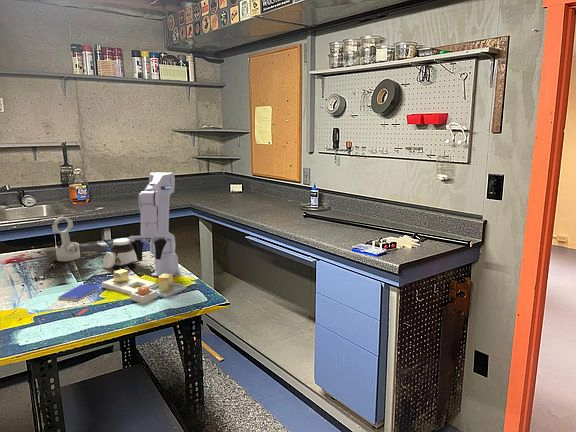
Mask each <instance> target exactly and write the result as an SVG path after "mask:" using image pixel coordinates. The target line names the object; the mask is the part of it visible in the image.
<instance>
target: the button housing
mask: <svg viewBox="0 0 576 432" xmlns="http://www.w3.org/2000/svg"><path fill="white" fill-rule="evenodd" d="M149 292H150V293H149V294H146V295H144V296H142V295H138V290H137V291H135V292H133V293H130V294H131V295H130V301H134V302H136V303H139V304H143V305H144V304H147V303H148V302H151V301H152V300H155V299H157V298H158V296H157V291H155V290H151V289H149Z"/></svg>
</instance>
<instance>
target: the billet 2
mask: <svg viewBox="0 0 576 432" xmlns="http://www.w3.org/2000/svg"><path fill="white" fill-rule="evenodd" d="M157 277H158V279H157V280H158V284H159V292H168V293H169V292H170V291H171V290H173V289H174V288H173V282H174V274H162V275H160V276H157Z"/></svg>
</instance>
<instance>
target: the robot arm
mask: <svg viewBox="0 0 576 432" xmlns="http://www.w3.org/2000/svg"><path fill="white" fill-rule="evenodd" d="M175 181H176V178H175V173H174V172H153V171H151V172H150V173H149V175H148V183H147V185H146V187H145V188H144V190H143V191H141V192H139V193H138V196H137V197H138V198H137V200H138V208H139V212H140V235H130V236H129V238H128V239H129V242H130V244H131V245H132V247H133V249H134V253H135V255H136V257H135V258H136V260H137V261H138V262H143V248H144V244H145V241H150V242H149V251H150V254H152V255H153V257H154V263H155V265H154V266H155V272H153V273H151V276H156V277H159V276H160V275H162V274H173V275H175V274H178V273H181V270H179V257H178V255H177V253H176V238H175V235H174V234H172V233H171V232H170V231H169V229H170V227H169V226H170V225H169V224H170V222H169V220H170V198H171V197H170V196H171V195H172V194H174V193H175V185H176V182H175Z"/></svg>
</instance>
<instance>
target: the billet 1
mask: <svg viewBox="0 0 576 432" xmlns="http://www.w3.org/2000/svg"><path fill="white" fill-rule="evenodd" d="M112 274H113V278H114V282H115V283H118V284H122V283H125V282H127V281H129V276H130V274H129V270H126V269H123V268H121V269H118V270H114V271H113V272H112Z"/></svg>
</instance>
